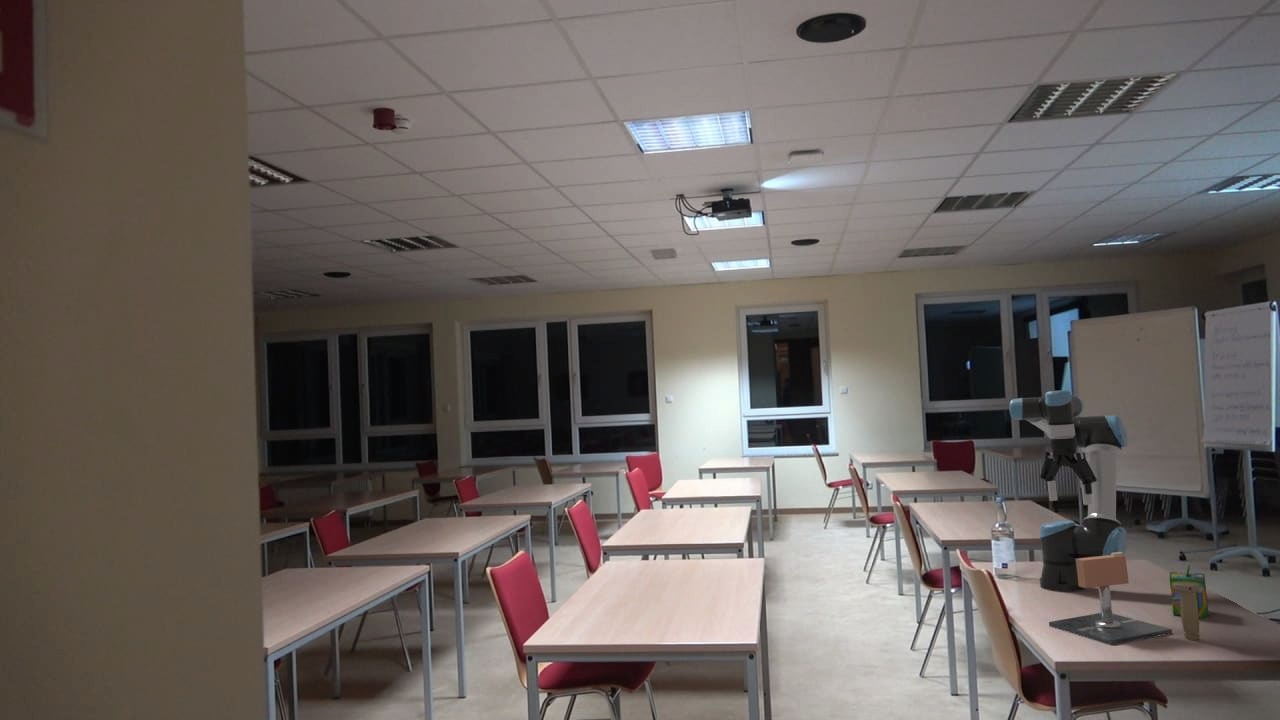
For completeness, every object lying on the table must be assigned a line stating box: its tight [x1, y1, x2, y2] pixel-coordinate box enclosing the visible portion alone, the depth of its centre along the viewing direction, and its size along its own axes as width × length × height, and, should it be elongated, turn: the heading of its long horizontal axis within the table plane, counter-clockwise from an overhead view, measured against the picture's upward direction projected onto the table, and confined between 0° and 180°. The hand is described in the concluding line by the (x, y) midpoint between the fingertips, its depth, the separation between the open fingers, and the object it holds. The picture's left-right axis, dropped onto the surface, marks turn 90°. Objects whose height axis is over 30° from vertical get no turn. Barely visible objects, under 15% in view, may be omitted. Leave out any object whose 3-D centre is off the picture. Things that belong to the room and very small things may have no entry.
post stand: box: [1048, 586, 1173, 646], centre depth 228 cm, size 22×22×13 cm
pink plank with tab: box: [1076, 552, 1130, 589], centre depth 229 cm, size 3×14×9 cm, turn 98°
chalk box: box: [1169, 563, 1210, 618], centre depth 238 cm, size 9×9×15 cm
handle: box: [1172, 582, 1200, 641], centre depth 215 cm, size 5×6×15 cm
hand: (1070, 502), depth 253 cm, fingers open, 13 cm apart
